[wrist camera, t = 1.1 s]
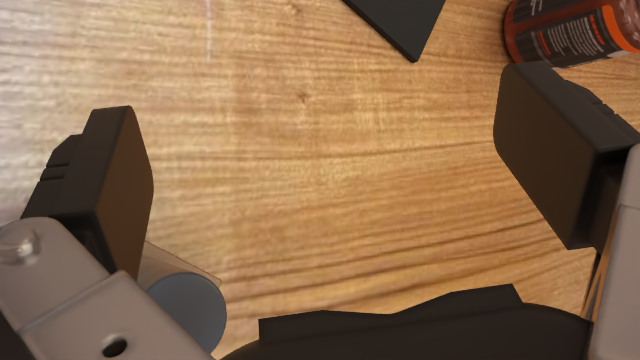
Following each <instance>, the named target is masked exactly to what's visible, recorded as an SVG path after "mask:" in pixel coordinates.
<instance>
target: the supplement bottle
mask: <svg viewBox="0 0 640 360" xmlns="http://www.w3.org/2000/svg"><path fill="white" fill-rule="evenodd" d="M504 37H505V42H506V46H507V49H508V51H509V54H510V55H511V57H512V59H513V60H514V62H515V63H524V62H533V61H544V62H545V63H546V64H547V65H548V66H550V67H551V68H552V69H553V70H554V71H557V70H561V69H566V68H570V67H574V66H578V65H583V64H587V63H592V62H596V61H600V60H605V59H610V58H613V57H618V56H622V55H627V54H631V53H635V52H640V0H514V1H513V2H512V3H511V5H510V7H509V9H508V10H507V12H506V16H505V21H504Z"/></svg>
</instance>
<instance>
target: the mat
mask: <svg viewBox="0 0 640 360" xmlns="http://www.w3.org/2000/svg"><path fill="white" fill-rule="evenodd" d="M343 1H345V2H346V3H347V4H348V5H349V6H350V7H351V8H352V9H353V10H355V11H356V12H357V13H358V14H359V15H360V16H361V17H362V18H363V19H364V20H366V21H367V22H368V23H369V24H370V25H371V26H372V27H373V28H374V29H376V30H377V31H378V32H379V33H380V34H381V35H382V36H383V37H384V38H386V39H387V40H388V41H389V42H390V43H391V44H392V45H393V46H394V47H396V48H397V49H398V50H399V51H400V52H401V53H402V54H403V55H404V56H406V57H407V58H408V59H409V60H410V61H411V62H412V63H415V62H417V61H418V60H419V58H420V55H421V53H422V51H423V49H424V47H425V45H426V42H427V40H428V38H429V36H430V34H431V31H432V29H433V27H434V25H435V23H436V21H437V18H438V16H439V14H440V12H441V10H442V7H443V5H444V3H445V1H446V0H343Z"/></svg>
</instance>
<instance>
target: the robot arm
mask: <svg viewBox="0 0 640 360" xmlns="http://www.w3.org/2000/svg"><path fill="white" fill-rule="evenodd" d="M602 102H603V101H601V100H600V99H599V98H598V97H597V96H596V95H594V94H593V93H592V92H591V91H590V90H588V89H586V88H584V87H582V86H580V85H577V84H575V83H573V82H571V81H568V80H564V79H563V78H562V77H561V76H560V75H559V74H558V73H556V72H555V71H554V70H553V69H552V68H551V67H550V66H548V65H547V64H546V63H545V62H544V61H533V62H524V63H515V64H508V65H506V66H505V67H504V69H503V71H502V74H501V79H500V86H499V92H498V99H497V106H496V112H495V119H494V126H493V138H494V144H495V148H496V150H497V153H498V154H499V156H500V157H501V159H502V160H503V161H504V163H505V164H506V165H507V167H508V168H509V170H510V171H511V172H512V174H513V175H514V176H515V178H516V179H517V181H518V182H519V183H520V185H521V186H522V188H523V189H524V190H525V192H526V193H527V194H528V196H529V197H530V199H531V200H532V201H533V203H534V204H535V205H536V207H537V208H538V210H539V211H540V212H541V214H542V215H543V217H544V218H545V219H546V221H547V222H548V223H549V225H550V226H551V228H552V229H553V230H554V232H555V233H556V235H557V236H558V237H559V239H560V240H561V241H562V243H563V244H564V246H565V247H566V248H567V250H573V249H580V248H588V247H594V248H595V249H596V251H597V252H596V255H595V258H594V261H593V264H592V268H591V272H590V276H589V280H588V284H587V288H586V292H585V296H584V300H583V304H582V308H581V312H580V316H578V315H575V314H572V313H569V312H566V311H564V310H561V309H557V308H553V307H549V306H545V305H539V304H533V303H523V302H522V300H521V298H520V297H519V295H518V293H517V291H516V290H515V288H514V286H513V284H505V285H497V286H490V287H483V288H476V289H469V290H462V291H455V292H450V293H447V294H445V295H442V296H439V297H437V298H434V299H431V300H429V301H426V302H424V303H421V304H418V305H416V306H413V307H410V308H408V309H405V310H402V311H400V312H397V313H393V314H374V313H359V312H343V311H328V310H320V311H313V312H305V313H298V314H291V315H284V316H277V317H270V318H263V319H258V322H259V339H258V340H256V341H253V342H251V343H248V344H246V345H244V346H242V347H240V348H238V349H236V350H234V351H233V352H231V353H230V354H228V355H226V356H225V357H223V358H222V359H220V360H640V133H639V132H638V131H637V130H635V129H634V128H633V127H632V126H631V125H630V124H628V123H627V122H626V121H625V120H624V119H623V118H621V117H620V116H619V115H618V114H614V111H613V110H612V109H611V108H610V107H608V106H607V105H606V104H603V103H602ZM153 192H154V186H153V176H152V170H151V166H150V163H149V159H148V156H147V152H146V149H145V145H144V142H143V139H142V135H141V132H140V128H139V125H138V121H137V118H136V115H135V112H134V110H133V108H132V107H131V106H130V105H128V106H119V107H110V108H101V109H93V110H92V112H91V114H90V116H89V119H88V121H87V123H86V126H85V128H84V130H83V133H82V134H78V135H70V136H69V137H68V138H67V139H66V140H65V141H63V142H62V143H61V144H60V145H59V146H58V147H56V148H55V149H54V150H53V152H52V154H51V156H50V158H49V160H48V162H47V165H46V169H44V171H43V173H42V175H41V177H40V182H38V183H37V185H36V187H35V189H34V191H33V193H32V195H31V197H30V199H29V202H28V204H27V206H26V208H25V210H24V212H23V214H22V216H21V218H20V220H17V221H14V222H11V223H9V224H7V225H4V226H2V227H0V360H215V359H214V358H213V357H212V356H211V355H210V354H209V353H208V352H207V351H206V350H205V349H204V348H203V347H202V346H201V345H200V344H199V343H198V342H197V341H196V340H195V339H194V338H193V337H192V336H191V335H190V334H189V333H188V332H187V331H186V330H185V329H184V328H183V327H182V326H181V325H180V324H179V323H178V322H177V321H176V320H175V319H174V318H173V317H172V316H171V315H170V314H168V313H167V312H166V311H165V310H164V309H163V308H162V307H161V306H160V305H159V304H158V303H157V302H156V301H155V300H154V299H153V298H152V297H151V296H150V295H149V294H148V293H147V292H146V291H145V290H144V289H143V288H142V287H141V286H140V285H139V284H138V283H137V279H138V273H139V268H140V263H141V257H142V252H143V247H144V242H145V236H146V231H147V226H148V221H149V215H150V210H151V205H152V199H153Z"/></svg>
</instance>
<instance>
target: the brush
mask: <svg viewBox="0 0 640 360" xmlns="http://www.w3.org/2000/svg"><path fill="white" fill-rule="evenodd" d="M137 283H138V284H139V285H140V286H141V287H142V288H143V289H144V290H145V291H146V292H147V293H148V294H149V295H150V296H151V297H152V298H153V299H154V300H155V301H156V302H157V303H158V304H159V305H160V306H161V307H162V308H163V309H164V310H165V311H166V312H167V313H168V314H170V315H171V316H172V317H173V318H174V319H175V320H176V321H177V322H178V323H179V324H180V325H181V326H182V327H183V328H184V329H185V330H186V331H187V332H188V333H189V334H190V335H191V336H192V337H193V338H194V339H195V340H196V341H197V342H198V343H199V344H200V345H201V346H202V347H203V348H204V349H205V350H206V351H207V352H208V353H209V354H211V352H212V351H213V350H214V349H215V348H216V346H217V345H218V343H219V342H220V340H221V338H222V335H223V333H224V330H225V326H226V318H227V312H226V305H225V301H224V298H223V296H222V293H221V292H220V290H219V287H220V285H221V283H222V280H221V279H219V278H217V277H215V276H213V275H211V274H209V273H207V272H205V271H203V270H201V269H199V268H197V267H196V266H194V265H192V264H190V263H188V262H186V261H184V260H182V259H180V258H178V257H176V256H174V255H172V254H170V253H169V252H167V251H165V250H163V249H161V248H159V247H157V246H155V245H153V244H151V243H149V242H147V241H145V242H144V247H143V252H142V257H141V263H140V268H139V273H138V279H137Z"/></svg>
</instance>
